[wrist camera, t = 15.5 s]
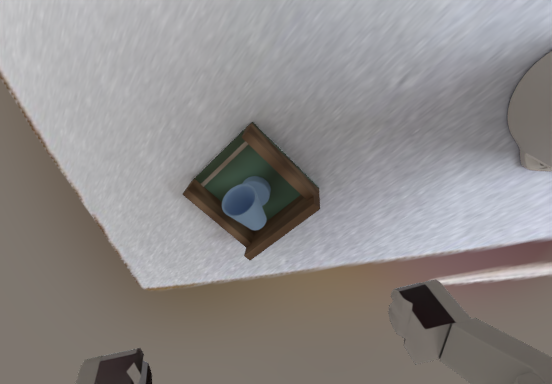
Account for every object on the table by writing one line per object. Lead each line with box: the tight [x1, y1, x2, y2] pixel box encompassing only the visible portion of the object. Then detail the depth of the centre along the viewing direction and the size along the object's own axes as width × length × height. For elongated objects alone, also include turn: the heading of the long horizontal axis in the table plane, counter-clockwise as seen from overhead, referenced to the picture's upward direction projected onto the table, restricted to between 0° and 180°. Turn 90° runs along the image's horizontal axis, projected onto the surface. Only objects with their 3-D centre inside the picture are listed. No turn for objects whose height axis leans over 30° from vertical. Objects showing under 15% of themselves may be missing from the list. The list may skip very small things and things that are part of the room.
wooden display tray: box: [183, 122, 320, 260], centre depth 48 cm, size 14×14×6 cm
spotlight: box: [222, 176, 271, 230], centre depth 46 cm, size 5×10×7 cm
